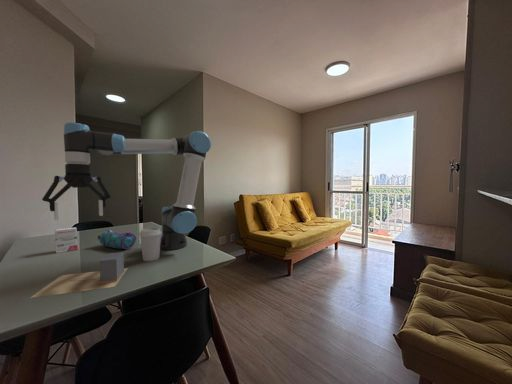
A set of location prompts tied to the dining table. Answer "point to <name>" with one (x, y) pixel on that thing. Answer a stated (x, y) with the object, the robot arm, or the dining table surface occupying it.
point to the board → (75, 284)
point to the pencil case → (117, 239)
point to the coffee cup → (150, 243)
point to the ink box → (66, 239)
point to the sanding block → (111, 267)
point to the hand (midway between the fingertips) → (80, 217)
